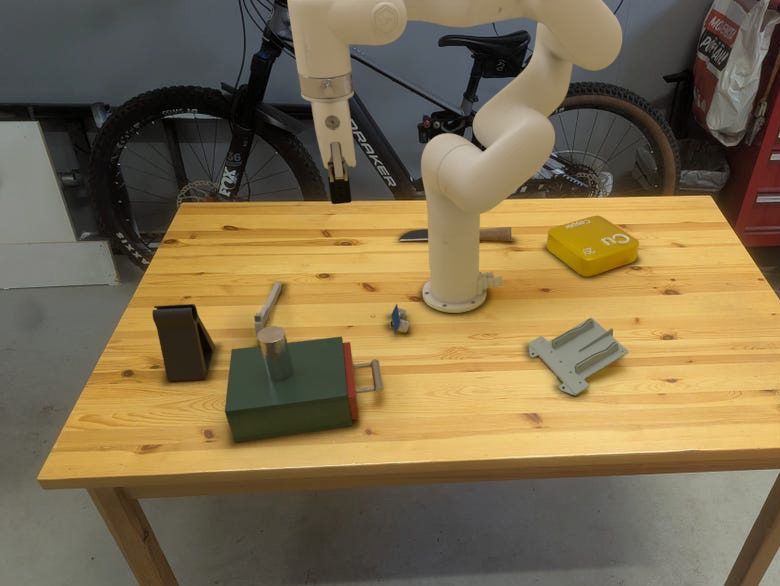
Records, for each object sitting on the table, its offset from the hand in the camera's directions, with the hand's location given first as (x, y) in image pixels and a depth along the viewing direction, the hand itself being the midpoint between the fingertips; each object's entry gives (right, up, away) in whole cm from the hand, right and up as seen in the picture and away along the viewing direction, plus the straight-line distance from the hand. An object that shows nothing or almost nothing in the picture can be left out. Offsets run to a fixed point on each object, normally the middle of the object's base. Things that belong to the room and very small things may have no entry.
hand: (341, 201), depth 107 cm
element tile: (+47, -3, +37) cm, 60 cm away
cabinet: (-8, -32, 0) cm, 33 cm away
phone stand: (-27, -27, +7) cm, 38 cm away
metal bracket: (+40, -26, +9) cm, 49 cm away
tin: (-9, -28, -4) cm, 29 cm away
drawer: (-4, -31, 0) cm, 32 cm away
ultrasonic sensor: (+7, -19, +16) cm, 26 cm away
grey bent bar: (-17, -17, +18) cm, 30 cm away
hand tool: (+17, +2, +41) cm, 44 cm away
